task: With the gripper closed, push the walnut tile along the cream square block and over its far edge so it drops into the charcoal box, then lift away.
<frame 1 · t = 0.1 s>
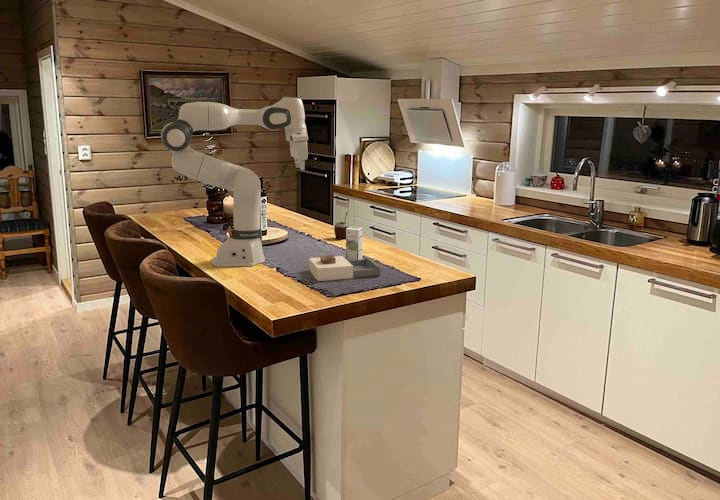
hand: (300, 168, 255), 39 cm above the countertop, tool pointing down, fingers open, 8 cm apart
mate gourd: (342, 239, 302), on the countertop
syrup box: (354, 261, 260), on the countertop
cream square block: (330, 274, 239), on the countertop
charcoal box: (360, 271, 243), on the countertop
walnut tile: (327, 262, 238), point 5 cm above the countertop, touching cream square block
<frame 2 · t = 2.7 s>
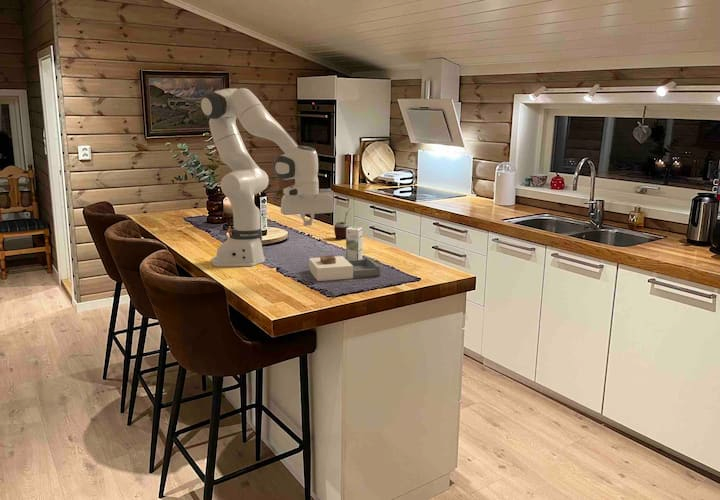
hand: (307, 225, 232), 20 cm above the countertop, tool pointing down, fingers closed
nothing on the countertop moved.
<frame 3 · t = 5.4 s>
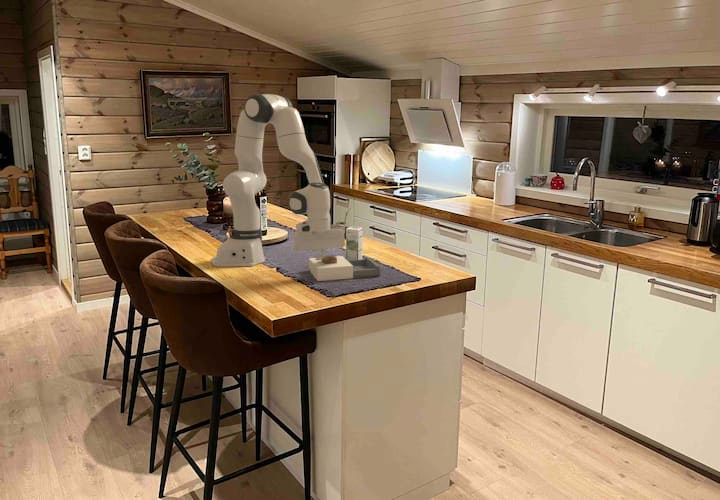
hand: (319, 259, 236), 6 cm above the countertop, tool pointing down, fingers closed
walnut tile: (329, 262, 238), point 5 cm above the countertop, touching gripper, cream square block
everything else where it was.
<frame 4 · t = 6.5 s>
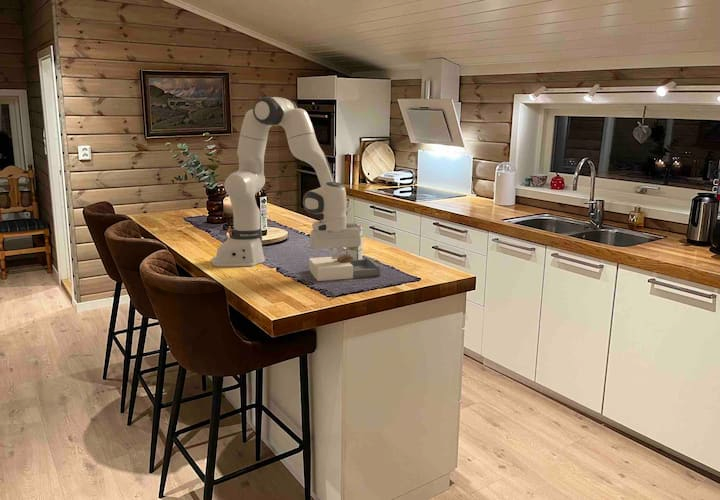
hand: (335, 258, 238), 6 cm above the countertop, tool pointing down, fingers closed
walnut tile: (345, 260, 240), point 5 cm above the countertop, touching gripper
everything else where it was.
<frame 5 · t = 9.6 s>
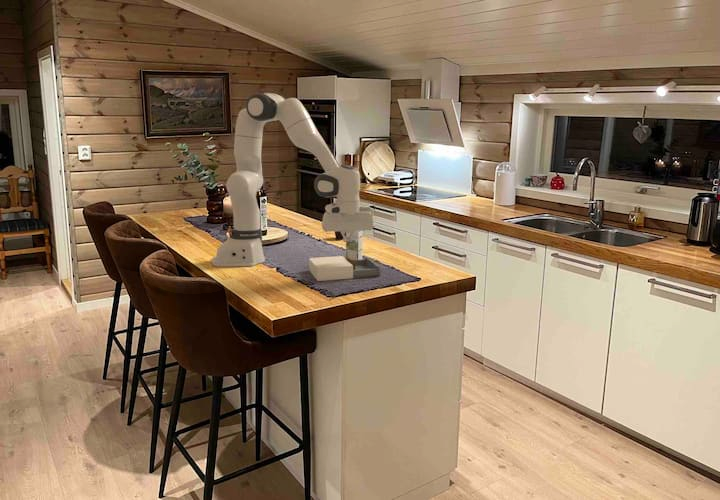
hand: (347, 241, 238), 13 cm above the countertop, tool pointing down, fingers closed
walnut tile: (348, 264, 241), point 3 cm above the countertop, tilted 90°, touching charcoal box
everything else where it was.
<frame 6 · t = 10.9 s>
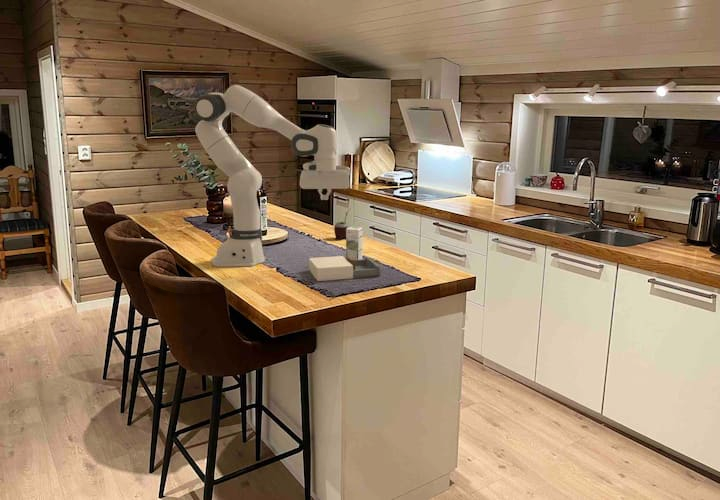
hand: (324, 199, 246), 28 cm above the countertop, tool pointing down, fingers closed
nothing on the countertop moved.
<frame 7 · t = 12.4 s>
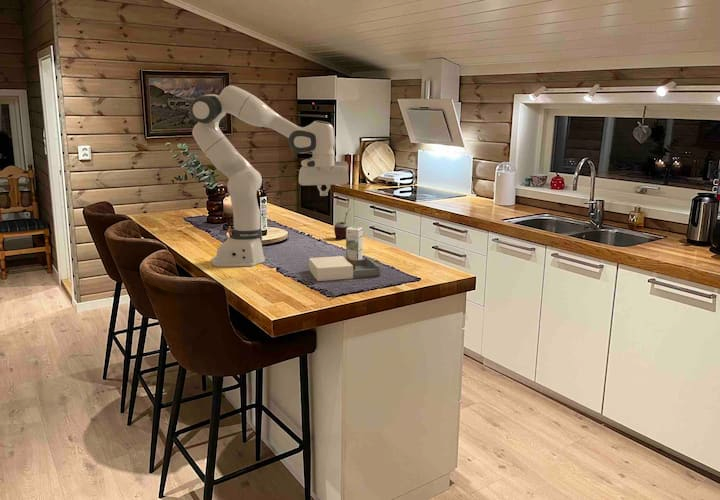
hand: (323, 195, 246), 29 cm above the countertop, tool pointing down, fingers closed
nothing on the countertop moved.
at the end: walnut tile inside the target area on the charcoal box (4.4 cm from its centre), point 3.3 cm above the charcoal box's base; walnut tile point 3.3 cm above the countertop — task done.
